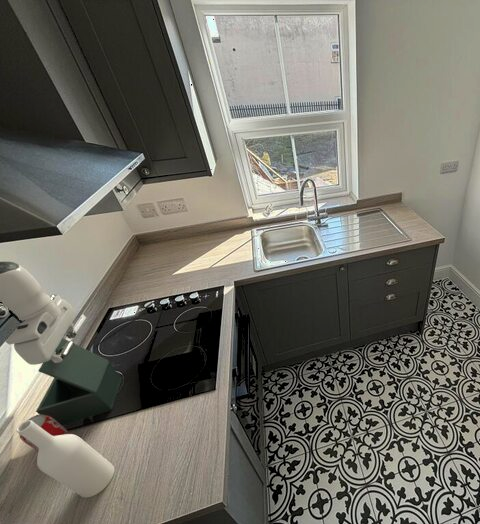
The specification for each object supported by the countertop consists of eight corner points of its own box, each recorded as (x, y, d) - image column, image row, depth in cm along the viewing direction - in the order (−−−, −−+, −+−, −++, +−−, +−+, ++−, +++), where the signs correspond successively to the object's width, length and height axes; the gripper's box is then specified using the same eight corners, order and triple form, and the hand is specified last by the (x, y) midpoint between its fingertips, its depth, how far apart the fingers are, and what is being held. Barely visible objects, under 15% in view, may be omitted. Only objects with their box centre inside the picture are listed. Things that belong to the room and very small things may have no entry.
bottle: (94, 502, 76) (14, 450, 59) (72, 492, 78) (-12, 440, 61) (121, 468, 83) (56, 412, 66) (100, 459, 85) (32, 403, 68)
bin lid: (37, 371, 81) (52, 362, 81) (58, 338, 91) (71, 329, 91) (94, 393, 91) (107, 385, 91) (106, 361, 101) (118, 354, 101)
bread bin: (55, 427, 93) (35, 411, 87) (71, 393, 103) (54, 376, 97) (112, 410, 97) (96, 393, 91) (122, 378, 107) (108, 362, 101)
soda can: (74, 443, 89) (49, 423, 82) (44, 462, 85) (15, 443, 78) (70, 427, 93) (46, 407, 86) (41, 445, 89) (14, 425, 82)
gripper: (41, 294, 86) (68, 326, 94) (-1, 345, 70) (37, 379, 78) (67, 288, 88) (91, 321, 96) (32, 338, 72) (65, 372, 80)
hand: (66, 348), depth 87 cm, fingers open, 8 cm apart
